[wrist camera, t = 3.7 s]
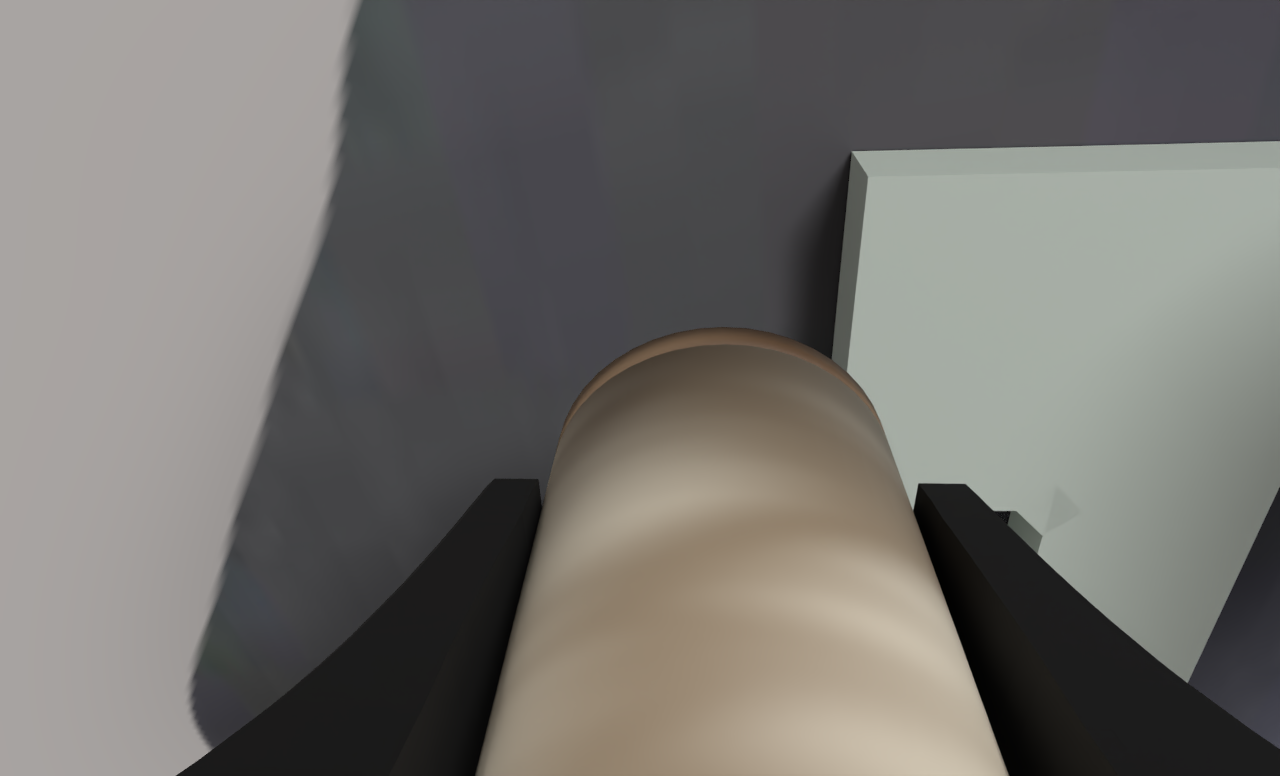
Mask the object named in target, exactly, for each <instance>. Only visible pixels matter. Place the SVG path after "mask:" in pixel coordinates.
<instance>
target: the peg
mask: <svg viewBox="0 0 1280 776" xmlns="http://www.w3.org/2000/svg"><path fill="white" fill-rule="evenodd" d="M475 776H1009V774H1008V772H1007V769H1006V766H1005V763H1004V761H1003V758H1002V755H1001V752H1000V750H999V747H998V744H997V741H996V739H995V736H994V733H993V730H992V728H991V725H990V722H989V719H988V716H987V714H986V711H985V708H984V705H983V703H982V700H981V697H980V694H979V692H978V689H977V686H976V683H975V681H974V678H973V675H972V672H971V670H970V667H969V664H968V661H967V659H966V656H965V653H964V650H963V647H962V645H961V642H960V639H959V636H958V634H957V631H956V628H955V625H954V623H953V620H952V617H951V614H950V612H949V609H948V606H947V603H946V601H945V598H944V595H943V592H942V590H941V587H940V584H939V581H938V578H937V576H936V573H935V570H934V567H933V565H932V562H931V559H930V556H929V554H928V551H927V548H926V545H925V543H924V540H923V537H922V534H921V532H920V529H919V526H918V523H917V520H916V518H915V515H914V512H913V509H912V507H911V504H910V501H909V498H908V496H907V493H906V490H905V487H904V485H903V482H902V479H901V476H900V474H899V471H898V468H897V465H896V463H895V460H894V457H893V454H892V451H891V449H890V446H889V443H888V440H887V438H886V435H885V432H884V429H883V427H882V424H881V421H880V419H879V417H878V415H877V412H876V410H875V408H874V406H873V404H872V402H871V401H870V399H869V398H868V396H867V395H866V393H865V392H864V390H863V389H862V388H861V387H860V386H859V384H858V383H857V382H856V381H855V380H854V379H853V378H852V377H851V376H850V375H849V373H847V372H846V371H845V370H844V369H842V368H841V367H840V366H839V365H838V364H836V363H835V362H834V361H833V360H831V359H830V358H828V357H826V356H825V355H823V354H822V353H820V352H818V351H817V350H815V349H813V348H811V347H809V346H807V345H804V344H802V343H800V342H798V341H795V340H793V339H790V338H787V337H783V336H780V335H777V334H773V333H770V332H764V331H759V330H753V329H747V328H729V327H717V328H701V329H694V330H689V331H683V332H678V333H674V334H670V335H667V336H664V337H661V338H657V339H654V340H652V341H649V342H647V343H645V344H643V345H640V346H638V347H636V348H634V349H632V350H630V351H629V352H627V353H625V354H624V355H622V356H620V357H619V358H617V359H615V360H614V361H613V362H611V363H610V364H609V365H608V366H606V367H605V368H604V369H603V370H601V371H600V372H599V373H598V374H597V375H596V376H595V377H594V378H593V379H592V380H591V381H590V382H589V383H588V384H587V385H586V387H585V388H584V389H583V390H582V392H581V393H580V395H579V396H578V397H577V399H576V400H575V402H574V403H573V405H572V407H571V409H570V411H569V413H568V415H567V417H566V419H565V422H564V425H563V428H562V432H561V435H560V438H559V442H558V446H557V450H556V454H555V458H554V462H553V466H552V470H551V474H550V478H549V482H548V486H547V490H546V494H545V498H544V502H543V506H542V510H541V514H540V518H539V522H538V526H537V530H536V534H535V538H534V542H533V546H532V550H531V554H530V558H529V562H528V566H527V570H526V574H525V578H524V582H523V586H522V590H521V594H520V598H519V602H518V606H517V610H516V614H515V618H514V622H513V626H512V630H511V634H510V638H509V642H508V646H507V650H506V654H505V658H504V662H503V666H502V670H501V674H500V678H499V682H498V686H497V690H496V694H495V698H494V702H493V706H492V710H491V714H490V718H489V722H488V726H487V730H486V734H485V738H484V742H483V746H482V750H481V754H480V758H479V762H478V766H477V770H476V774H475Z"/></svg>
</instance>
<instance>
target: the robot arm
mask: <svg viewBox="0 0 1280 776" xmlns="http://www.w3.org/2000/svg"><path fill="white" fill-rule="evenodd" d="M541 510H542V505H541V497H540V489H539V481H538V479H494V480H493V481H492V482H491V483H490V484H489V485H487V487H486V488H485V489H484V490H483V491H482V493H481V494H480V495H479V496H478V498H477V499H476V500H475V501H474V502H473V504H472V505H471V506H470V507H469V508H468V510H467V511H466V512H465V513H464V514H463V516H462V517H461V518H460V519H459V520H458V522H457V523H456V524H455V525H454V526H453V528H452V529H451V530H450V531H449V532H448V533H447V535H446V536H445V537H444V538H443V539H442V540H441V542H440V543H439V544H438V545H437V546H436V547H435V549H434V550H433V551H432V552H431V553H430V554H429V555H428V556H427V557H426V558H425V560H424V561H423V562H422V563H421V564H420V565H419V566H418V567H417V568H416V570H415V571H414V572H413V573H412V574H411V575H410V576H409V577H408V578H407V580H406V581H405V582H404V583H403V584H402V585H401V586H400V587H399V588H398V589H397V590H396V591H395V592H394V593H393V594H392V595H391V596H390V597H389V598H388V599H387V600H386V601H385V602H384V603H383V604H382V605H381V606H380V607H379V608H378V609H377V610H376V611H375V612H374V613H373V614H372V615H371V616H370V617H369V618H368V619H367V620H366V621H365V622H364V623H363V624H362V625H361V626H360V627H359V628H358V629H357V630H356V631H355V632H354V633H353V634H352V635H351V636H350V637H349V638H348V639H347V640H346V641H345V642H344V643H343V644H342V645H341V646H340V647H339V648H337V649H336V650H335V651H334V652H333V653H332V654H331V655H330V656H329V657H328V658H327V659H325V660H324V661H323V662H322V663H321V664H320V665H319V666H318V667H316V668H315V669H314V670H313V671H312V672H311V673H310V674H308V675H307V676H306V677H305V678H304V679H302V680H301V681H300V682H299V683H298V684H297V685H295V686H294V687H293V688H292V689H291V690H290V691H288V692H287V693H286V694H285V695H284V696H282V697H281V698H280V699H279V700H277V701H276V702H275V703H274V704H272V705H271V706H270V707H269V708H267V709H266V710H265V711H263V712H262V713H261V714H260V715H258V716H257V717H256V718H254V719H253V720H252V721H250V722H249V723H248V724H246V725H245V726H244V727H242V728H241V729H240V730H238V731H237V732H236V733H234V734H233V735H232V736H230V737H229V738H228V739H226V740H225V741H224V742H222V743H221V744H220V745H218V746H217V747H216V748H214V749H213V750H212V751H210V752H209V753H208V754H206V755H205V756H204V757H202V758H201V759H199V760H198V761H197V762H195V763H194V764H192V765H191V766H189V767H188V768H187V769H185V770H184V771H182V772H181V773H179V774H178V775H176V776H475V774H476V770H477V766H478V762H479V758H480V754H481V750H482V746H483V742H484V738H485V734H486V730H487V726H488V722H489V718H490V714H491V710H492V706H493V702H494V698H495V694H496V690H497V686H498V682H499V678H500V674H501V670H502V666H503V662H504V658H505V654H506V650H507V646H508V642H509V638H510V634H511V630H512V626H513V622H514V618H515V614H516V610H517V606H518V602H519V598H520V594H521V590H522V586H523V582H524V578H525V574H526V570H527V566H528V562H529V558H530V554H531V550H532V546H533V542H534V538H535V534H536V530H537V526H538V522H539V518H540V514H541ZM913 512H914V515H915V518H916V520H917V523H918V526H919V529H920V532H921V534H922V537H923V540H924V543H925V545H926V548H927V551H928V554H929V556H930V559H931V562H932V565H933V567H934V570H935V573H936V576H937V578H938V581H939V584H940V587H941V590H942V592H943V595H944V598H945V601H946V603H947V606H948V609H949V612H950V614H951V617H952V620H953V623H954V625H955V628H956V631H957V634H958V636H959V639H960V642H961V645H962V647H963V650H964V653H965V656H966V659H967V661H968V664H969V667H970V670H971V672H972V675H973V678H974V681H975V683H976V686H977V689H978V692H979V694H980V697H981V700H982V703H983V705H984V708H985V711H986V714H987V716H988V719H989V722H990V725H991V728H992V730H993V733H994V736H995V739H996V741H997V744H998V747H999V750H1000V752H1001V755H1002V758H1003V761H1004V763H1005V766H1006V769H1007V772H1008V774H1009V776H1280V749H1279V748H1277V747H1276V746H1274V745H1273V744H1271V743H1270V742H1268V741H1267V740H1265V739H1264V738H1262V737H1261V736H1260V735H1258V734H1257V733H1255V732H1254V731H1252V730H1251V729H1249V728H1248V727H1247V726H1245V725H1244V724H1243V723H1241V722H1240V721H1238V720H1237V719H1236V718H1234V717H1233V716H1232V715H1230V714H1229V713H1228V712H1226V711H1225V710H1223V709H1222V708H1221V707H1219V706H1218V705H1217V704H1215V703H1214V702H1213V701H1211V700H1210V699H1208V698H1207V697H1206V696H1204V695H1203V694H1202V693H1200V692H1199V691H1198V690H1196V689H1195V688H1193V687H1192V686H1191V685H1189V684H1188V683H1187V682H1185V681H1184V680H1183V679H1182V678H1180V677H1179V676H1178V675H1176V674H1175V673H1174V672H1173V671H1171V670H1170V669H1169V668H1167V667H1166V666H1165V665H1164V664H1162V663H1161V662H1160V661H1159V660H1157V659H1156V658H1155V657H1154V656H1153V655H1151V654H1150V653H1149V652H1148V651H1147V650H1145V649H1144V648H1143V647H1142V646H1141V645H1139V644H1138V643H1137V642H1136V641H1135V640H1133V639H1132V638H1131V637H1130V636H1129V635H1127V634H1126V633H1125V632H1124V631H1123V630H1121V629H1120V628H1119V627H1118V626H1117V625H1115V624H1114V623H1113V622H1112V621H1111V620H1109V619H1108V618H1107V617H1106V616H1105V615H1104V614H1103V613H1101V612H1100V611H1099V610H1098V609H1097V608H1096V607H1095V606H1094V605H1092V604H1091V603H1090V602H1089V601H1088V600H1087V599H1086V598H1085V597H1083V596H1082V595H1081V594H1080V593H1079V592H1078V591H1077V590H1076V589H1075V588H1073V587H1072V586H1071V585H1070V584H1069V583H1068V582H1067V581H1066V580H1065V579H1064V578H1063V577H1062V576H1060V575H1059V574H1058V573H1057V572H1056V571H1055V570H1054V569H1053V568H1052V567H1051V566H1050V565H1049V564H1048V563H1047V562H1046V561H1045V560H1043V559H1042V558H1041V557H1040V556H1039V555H1038V554H1037V553H1036V552H1035V551H1034V550H1033V549H1032V548H1031V547H1030V546H1029V545H1028V544H1027V543H1026V542H1025V541H1024V540H1023V539H1022V538H1021V537H1020V536H1019V535H1018V534H1017V533H1016V532H1014V531H1013V530H1012V529H1011V528H1010V527H1009V526H1008V525H1007V524H1006V523H1005V522H1004V521H1003V520H1002V519H1001V518H1000V517H999V516H998V515H997V514H996V513H995V512H994V511H993V510H992V509H991V508H990V507H989V506H988V505H987V504H986V503H985V502H984V501H983V500H982V499H981V498H980V497H979V496H978V495H977V494H976V493H975V492H974V491H973V490H972V489H971V488H970V487H968V486H967V485H966V484H941V483H918V488H917V493H916V498H915V504H914V509H913Z"/></svg>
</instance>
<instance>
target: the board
mask: <svg viewBox="0 0 1280 776" xmlns="http://www.w3.org/2000/svg"><path fill="white" fill-rule="evenodd" d="M832 360H833V361H834V362H835V363H836V364H838V365H839V366H840V367H841V368H842V369H844V370H845V371H846V372H847V373H849V375H850V376H851V377H852V378H853V379H854V380H855V381H856V382H857V383H858V384H859V386H860V387H861V388H862V389H863V390H864V392H865V393H866V395H867V396H868V398H869V399H870V401H871V402H872V404H873V406H874V408H875V410H876V412H877V415H878V417H879V419H880V421H881V424H882V427H883V429H884V432H885V435H886V438H887V440H888V443H889V446H890V449H891V451H892V454H893V457H894V460H895V463H896V465H897V468H898V471H899V474H900V476H901V479H902V482H903V485H904V487H905V490H906V493H907V496H908V498H909V501H910V504H911V507H912V509H914V504H915V498H916V493H917V488H918V483H941V484H966V485H967V486H968V487H970V488H971V489H972V490H973V491H974V492H975V493H976V494H977V495H978V496H979V497H980V498H981V499H982V500H983V501H984V502H985V503H986V504H987V505H988V506H989V507H990V508H991V509H992V510H993V511H1011V513H1010V517H1009V521H1008V524H1007V525H1008V526H1009V527H1010V528H1011V529H1012V530H1013V531H1014V532H1016V533H1017V534H1018V535H1019V536H1020V537H1021V538H1022V539H1023V540H1024V541H1025V542H1026V543H1027V544H1028V545H1029V546H1030V547H1031V548H1032V549H1033V550H1034V551H1035V552H1036V553H1037V554H1038V555H1039V556H1040V557H1041V558H1042V559H1043V560H1045V561H1046V562H1047V563H1048V564H1049V565H1050V566H1051V567H1052V568H1053V569H1054V570H1055V571H1056V572H1057V573H1058V574H1059V575H1060V576H1062V577H1063V578H1064V579H1065V580H1066V581H1067V582H1068V583H1069V584H1070V585H1071V586H1072V587H1073V588H1075V589H1076V590H1077V591H1078V592H1079V593H1080V594H1081V595H1082V596H1083V597H1085V598H1086V599H1087V600H1088V601H1089V602H1090V603H1091V604H1092V605H1094V606H1095V607H1096V608H1097V609H1098V610H1099V611H1100V612H1101V613H1103V614H1104V615H1105V616H1106V617H1107V618H1108V619H1109V620H1111V621H1112V622H1113V623H1114V624H1115V625H1117V626H1118V627H1119V628H1120V629H1121V630H1123V631H1124V632H1125V633H1126V634H1127V635H1129V636H1130V637H1131V638H1132V639H1133V640H1135V641H1136V642H1137V643H1138V644H1139V645H1141V646H1142V647H1143V648H1144V649H1145V650H1147V651H1148V652H1149V653H1150V654H1151V655H1153V656H1154V657H1155V658H1156V659H1157V660H1159V661H1160V662H1161V663H1162V664H1164V665H1165V666H1166V667H1167V668H1169V669H1170V670H1171V671H1173V672H1174V673H1175V674H1176V675H1178V676H1179V677H1180V678H1182V679H1183V680H1184V681H1185V682H1187V683H1188V681H1189V679H1190V677H1191V675H1192V673H1193V670H1194V668H1195V666H1196V664H1197V662H1198V660H1199V658H1200V656H1201V653H1202V651H1203V649H1204V647H1205V645H1206V643H1207V641H1208V638H1209V636H1210V634H1211V632H1212V630H1213V628H1214V626H1215V624H1216V621H1217V619H1218V617H1219V615H1220V613H1221V611H1222V609H1223V607H1224V604H1225V602H1226V600H1227V598H1228V596H1229V594H1230V592H1231V589H1232V587H1233V585H1234V583H1235V581H1236V579H1237V577H1238V575H1239V572H1240V570H1241V568H1242V566H1243V564H1244V562H1245V560H1246V557H1247V555H1248V553H1249V551H1250V549H1251V547H1252V545H1253V543H1254V540H1255V538H1256V536H1257V534H1258V532H1259V530H1260V528H1261V526H1262V523H1263V521H1264V519H1265V517H1266V515H1267V513H1268V511H1269V508H1270V506H1271V504H1272V502H1273V500H1274V498H1275V496H1276V494H1277V491H1278V489H1279V487H1280V141H1274V142H1232V143H1189V144H1147V145H1104V146H1062V147H1019V148H977V149H934V150H891V151H852V155H851V165H850V175H849V186H848V196H847V206H846V217H845V227H844V237H843V248H842V258H841V268H840V278H839V289H838V299H837V309H836V320H835V330H834V340H833V351H832Z"/></svg>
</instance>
